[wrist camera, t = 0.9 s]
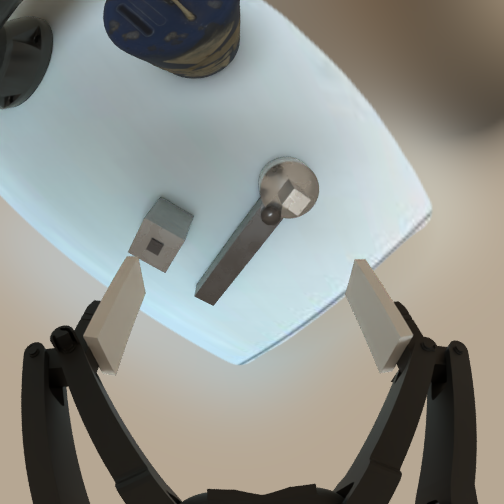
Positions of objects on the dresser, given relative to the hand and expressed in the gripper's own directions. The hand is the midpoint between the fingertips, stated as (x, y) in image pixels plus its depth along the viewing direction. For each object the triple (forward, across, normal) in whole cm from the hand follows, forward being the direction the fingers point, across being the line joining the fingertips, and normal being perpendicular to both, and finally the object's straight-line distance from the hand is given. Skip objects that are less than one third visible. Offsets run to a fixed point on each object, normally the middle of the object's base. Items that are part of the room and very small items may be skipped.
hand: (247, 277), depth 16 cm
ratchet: (+21, +1, -7) cm, 22 cm away
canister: (+21, -6, +18) cm, 28 cm away
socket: (+21, -10, -6) cm, 24 cm away
